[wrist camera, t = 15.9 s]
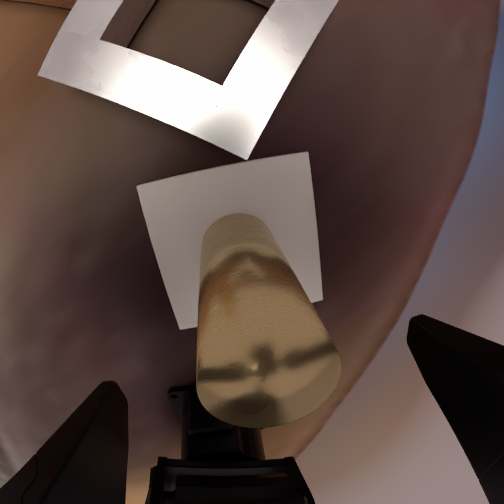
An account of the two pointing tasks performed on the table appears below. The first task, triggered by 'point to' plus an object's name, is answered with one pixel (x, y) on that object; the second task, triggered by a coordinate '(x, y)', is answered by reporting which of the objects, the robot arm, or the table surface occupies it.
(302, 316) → the brown mottled cylinder
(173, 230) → the white flat square block
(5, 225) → the table surface
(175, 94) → the square frame with handle
